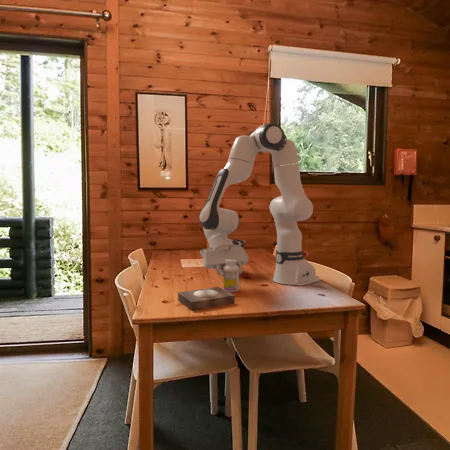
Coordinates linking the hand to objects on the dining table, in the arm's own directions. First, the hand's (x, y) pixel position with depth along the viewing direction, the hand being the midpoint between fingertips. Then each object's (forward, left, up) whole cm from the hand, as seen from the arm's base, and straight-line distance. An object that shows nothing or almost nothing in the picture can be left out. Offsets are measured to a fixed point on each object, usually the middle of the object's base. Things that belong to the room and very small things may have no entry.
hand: (231, 274), depth 142 cm
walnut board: (+15, +8, -7) cm, 19 cm away
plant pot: (-15, -29, -7) cm, 33 cm away
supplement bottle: (0, -1, -7) cm, 7 cm away
